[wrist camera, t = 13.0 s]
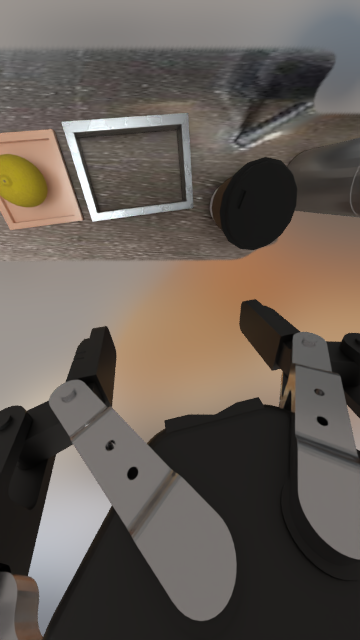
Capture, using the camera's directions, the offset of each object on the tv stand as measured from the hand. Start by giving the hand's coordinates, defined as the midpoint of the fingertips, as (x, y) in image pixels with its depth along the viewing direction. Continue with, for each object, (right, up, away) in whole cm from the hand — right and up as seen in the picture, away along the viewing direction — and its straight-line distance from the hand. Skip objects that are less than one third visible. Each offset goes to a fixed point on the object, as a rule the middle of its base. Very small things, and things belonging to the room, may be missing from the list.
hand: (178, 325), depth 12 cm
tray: (-21, +20, +17) cm, 34 cm away
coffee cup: (+8, +21, +24) cm, 33 cm away
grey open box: (-7, +23, +19) cm, 31 cm away
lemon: (-21, +20, +17) cm, 34 cm away
